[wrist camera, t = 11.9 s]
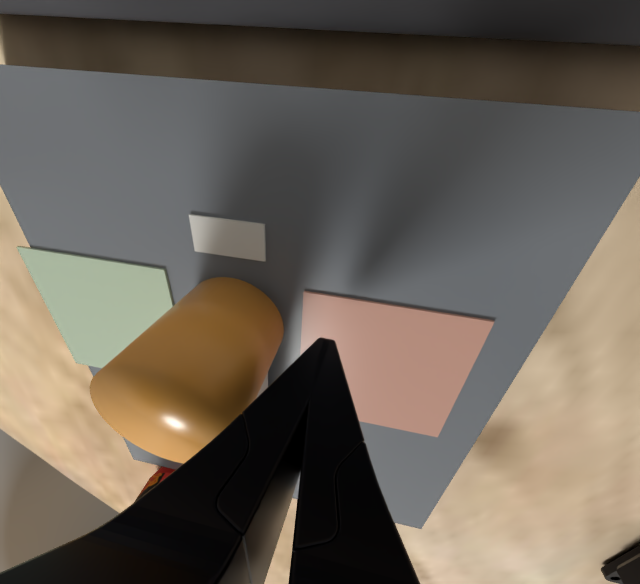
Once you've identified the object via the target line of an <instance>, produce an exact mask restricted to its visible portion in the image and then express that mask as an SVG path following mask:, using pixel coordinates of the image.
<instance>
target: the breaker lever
mask: <svg viewBox="0 0 640 584" xmlns="http://www.w3.org/2000/svg"><path fill="white" fill-rule="evenodd" d="M283 334H284V325H283V320H282V317H281V315H280V313H279V311H278V309H277V307H276V306H275V304H274V303H273V302H272V301H271V299H270V298H269V297H268V296H267V295H266V294H264V293H263V292H262V291H261V290H259V289H258V288H256V287H255V286H253V285H251V284H249V283H247V282H245V281H242V280H239V279H235V278H229V277H215V278H210V279H207V280H205V281H203V282H201V283H200V284H198V285H197V286H196V287H195V288H193V289H192V290H191V291H190V292H189V293H188V294H187V295H185V296H184V297H183V298H182V299H181V300H180V301H179V302H177V303H176V304H175V305H174V306H173V307H172V308H171V309H169V310H168V311H167V312H166V313H165V314H164V315H163V316H161V317H160V318H159V319H158V320H157V321H156V322H155V323H153V324H152V325H151V326H150V327H149V328H148V329H147V330H145V331H144V332H143V333H142V334H141V335H140V336H139V337H137V338H136V339H135V340H134V341H133V342H132V343H131V344H129V345H128V346H127V347H126V348H125V349H124V350H123V351H121V352H120V353H119V354H118V355H117V356H116V357H115V358H113V359H112V360H111V361H110V362H109V363H108V364H107V365H105V366H104V367H103V368H102V369H101V370H100V371H99V372H97V373H96V375H95V376H94V377H93V379H92V381H91V385H90V394H91V398H92V401H93V403H94V405H95V407H96V409H97V411H98V412H99V413H100V415H101V416H102V418H103V419H104V420H105V421H106V422H107V423H108V424H109V425H110V426H111V427H112V428H113V429H114V430H115V431H116V432H118V433H119V434H120V435H121V436H123V437H124V438H125V439H127V440H128V441H130V442H131V443H133V444H134V445H136V446H138V447H140V448H141V449H143V450H145V451H147V452H149V453H151V454H154V455H156V456H159V457H161V458H164V459H167V460H171V461H174V462H178V463H183V464H184V463H185V462H186V461H188V460H189V459H190V458H191V457H193V456H194V455H195V454H196V453H197V452H199V451H200V450H201V449H202V448H203V447H205V446H206V445H207V444H208V443H210V442H211V441H212V440H213V439H214V438H215V437H216V436H217V435H218V434H219V433H221V432H222V431H223V430H224V429H225V428H226V427H227V426H228V425H229V424H230V423H231V422H232V421H233V420H234V419H235V418H236V417H237V416H238V415H239V414H242V412H243V411H244V410H245V409H246V408H247V407H248V406H249V405H250V404H251V403H252V402H253V401H254V400H255V399H256V398H257V397H258V396H259V395H260V394H261V393H262V392H263V391H264V390H265V389H266V388H268V371H269V368H270V366H271V364H272V362H273V359H274V357H275V355H276V353H277V351H278V348H279V346H280V344H281V342H282V339H283Z"/></svg>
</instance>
